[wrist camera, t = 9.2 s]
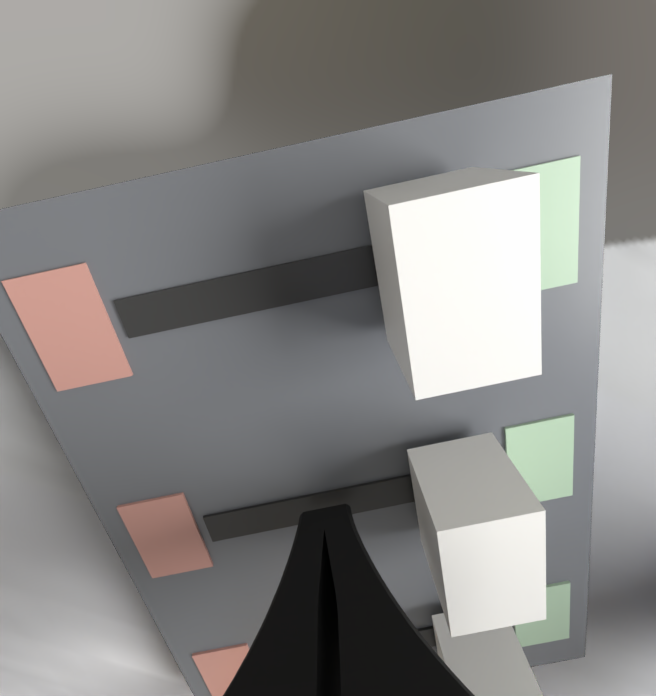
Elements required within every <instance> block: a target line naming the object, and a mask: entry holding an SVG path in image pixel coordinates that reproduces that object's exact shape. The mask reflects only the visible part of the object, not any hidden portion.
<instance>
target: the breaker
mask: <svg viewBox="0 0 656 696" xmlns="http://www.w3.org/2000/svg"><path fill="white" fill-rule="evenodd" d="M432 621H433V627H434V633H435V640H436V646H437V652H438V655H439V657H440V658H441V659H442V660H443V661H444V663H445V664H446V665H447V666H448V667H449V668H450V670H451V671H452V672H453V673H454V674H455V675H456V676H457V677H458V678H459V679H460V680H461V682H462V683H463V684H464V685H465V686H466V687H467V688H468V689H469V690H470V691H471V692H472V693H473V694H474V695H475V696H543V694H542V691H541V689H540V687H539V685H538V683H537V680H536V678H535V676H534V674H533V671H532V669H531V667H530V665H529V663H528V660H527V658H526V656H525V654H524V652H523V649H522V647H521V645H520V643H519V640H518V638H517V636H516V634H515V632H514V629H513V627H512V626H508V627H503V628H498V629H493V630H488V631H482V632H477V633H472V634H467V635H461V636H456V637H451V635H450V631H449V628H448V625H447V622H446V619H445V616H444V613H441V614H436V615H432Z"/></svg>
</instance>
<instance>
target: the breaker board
mask: <svg viewBox="0 0 656 696" xmlns="http://www.w3.org/2000/svg"><path fill="white" fill-rule="evenodd" d="M611 87H612V74H610V75H606V76H601V77H596V78H592V79H587V80H583V81H579V82H574V83H569V84H565V85H560V86H556V87H551V88H547V89H542V90H538V91H533V92H529V93H524V94H519V95H515V96H510V97H506V98H502V99H497V100H492V101H488V102H483V103H479V104H475V105H470V106H465V107H461V108H456V109H452V110H447V111H443V112H438V113H434V114H429V115H425V116H420V117H416V118H411V119H406V120H402V121H398V122H393V123H388V124H384V125H380V126H375V127H371V128H366V129H361V130H356V131H353V132H347V133H343V134H338V135H334V136H329V137H325V138H320V139H316V140H311V141H307V142H302V143H298V144H293V145H289V146H284V147H280V148H275V149H270V150H266V151H262V152H257V153H252V154H248V155H243V156H239V157H235V158H230V159H225V160H221V161H216V162H212V163H207V164H203V165H198V166H194V167H189V168H185V169H180V170H175V171H171V172H166V173H162V174H157V175H153V176H148V177H144V178H139V179H135V180H130V181H126V182H121V183H117V184H112V185H108V186H103V187H99V188H94V189H89V190H85V191H80V192H76V193H71V194H67V195H62V196H58V197H53V198H49V199H44V200H40V201H35V202H31V203H26V204H22V205H17V206H13V207H8V208H3V209H0V334H1V336H2V337H3V339H4V341H5V343H6V345H7V347H8V349H9V350H10V352H11V354H12V356H13V358H14V360H15V362H16V364H17V365H18V367H19V369H20V371H21V373H22V375H23V377H24V379H25V380H26V382H27V384H28V386H29V388H30V390H31V392H32V393H33V395H34V397H35V399H36V401H37V403H38V405H39V407H40V408H41V410H42V412H43V414H44V416H45V418H46V420H47V422H48V423H49V425H50V427H51V429H52V431H53V433H54V435H55V436H56V438H57V440H58V442H59V444H60V446H61V448H62V450H63V451H64V453H65V455H66V457H67V459H68V461H69V463H70V465H71V466H72V468H73V470H74V472H75V474H76V476H77V478H78V479H79V481H80V483H81V485H82V487H83V489H84V491H85V493H86V494H87V496H88V498H89V500H90V502H91V504H92V506H93V508H94V509H95V511H96V513H97V515H98V517H99V519H100V521H101V522H102V524H103V526H104V528H105V530H106V532H107V534H108V536H109V537H110V539H111V541H112V543H113V545H114V547H115V549H116V550H117V552H118V554H119V556H120V558H121V560H122V562H123V564H124V565H125V567H126V569H127V571H128V573H129V575H130V577H131V579H132V580H133V582H134V584H135V586H136V588H137V590H138V592H139V593H140V595H141V597H142V599H143V601H144V603H145V605H146V607H147V608H148V610H149V612H150V614H151V616H152V618H153V620H154V622H155V623H156V625H157V627H158V629H159V631H160V633H161V635H162V636H163V638H164V640H165V642H166V644H167V646H168V648H169V650H170V651H171V653H172V655H173V657H174V659H175V661H176V663H177V665H178V666H179V668H180V670H181V672H182V674H183V676H184V678H185V679H186V681H187V683H188V685H189V687H190V689H191V691H192V693H193V694H194V696H223V695H224V693H225V691H226V690H227V688H228V686H229V685H230V683H231V681H232V680H233V678H234V676H235V675H236V673H237V671H238V669H239V667H240V666H241V664H242V662H243V660H244V658H245V657H246V655H247V653H248V651H249V649H250V647H251V645H252V643H253V641H254V639H255V637H256V635H257V634H258V631H259V629H260V627H261V625H262V623H263V621H264V619H265V617H266V614H267V612H268V610H269V607H270V605H271V603H272V600H273V598H274V595H275V593H276V591H277V588H278V586H279V583H280V581H281V578H282V575H283V572H284V569H285V566H286V564H287V561H288V558H289V555H290V552H291V548H292V545H293V542H294V538H295V535H296V531H297V527H298V522H299V517H300V515H301V514H302V513H303V512H306V511H311V510H316V509H321V508H326V507H331V506H336V505H341V504H347V505H349V506H350V507H351V511H352V516H353V520H354V523H355V526H356V528H357V531H358V533H359V535H360V538H361V540H362V542H363V544H364V546H365V548H366V550H367V552H368V554H369V556H370V558H371V560H372V561H373V563H374V565H375V567H376V569H377V570H378V572H379V574H380V576H381V577H382V579H383V580H384V582H385V584H386V585H387V587H388V588H389V590H390V592H391V593H392V595H393V596H394V598H395V599H396V601H397V602H398V604H399V605H400V607H401V608H402V609H403V611H404V612H405V614H406V615H407V616H408V618H409V619H410V621H411V622H412V623H413V624H414V626H415V627H416V628H417V630H418V631H419V632H420V634H421V635H422V636H423V638H424V639H425V640H426V641H427V642H428V644H429V645H430V646H431V647H432V648H433V650H434V651H435V652H436V653H437V654H438V652H437V646H436V640H435V633H434V627H433V621H432V615H436V614H441V613H444V612H443V609H442V606H441V603H440V600H439V597H438V593H437V590H436V587H435V584H434V581H433V577H432V574H431V571H430V568H429V565H428V562H427V558H426V555H425V552H424V549H423V546H422V542H421V536H420V530H419V523H418V517H417V511H416V504H415V498H414V492H413V485H412V479H411V473H410V467H409V460H408V454H407V449H412V448H417V447H422V446H426V445H431V444H436V443H441V442H446V441H451V440H456V439H461V438H466V437H471V436H476V435H481V434H486V433H491V432H492V433H493V435H494V436H495V438H496V439H497V441H498V442H499V444H500V445H501V447H502V448H503V449H504V451H505V452H506V454H507V455H508V457H509V458H510V460H511V461H512V463H513V464H514V465H515V467H516V468H517V470H518V471H519V473H520V474H521V476H522V477H523V478H524V480H525V481H526V483H527V484H528V486H529V487H530V489H531V490H532V492H533V493H534V494H535V496H536V497H537V499H538V500H539V502H540V503H541V505H542V506H543V508H544V509H545V510H546V619H545V620H540V621H535V622H529V623H524V624H519V625H514V626H512V627H513V629H514V632H515V634H516V636H517V638H518V640H519V643H520V645H521V647H522V649H523V652H524V654H525V656H526V658H527V660H528V663H529V665H530V667H534V666H539V665H544V664H550V663H555V662H560V661H565V660H571V659H576V658H581V657H585V647H586V626H587V604H588V583H589V561H590V540H591V518H592V496H593V475H594V453H595V432H596V410H597V389H598V367H599V346H600V324H601V303H602V281H603V260H604V238H605V237H604V236H605V217H606V194H607V173H608V152H609V130H610V108H611ZM470 167H478V168H490V169H501V170H512V171H524V172H535V173H540V255H541V350H542V375H537V376H532V377H527V378H522V379H517V380H513V381H508V382H503V383H498V384H493V385H488V386H483V387H478V388H474V389H469V390H464V391H459V392H454V393H449V394H444V395H439V396H435V397H430V398H425V399H420V400H415V398H414V396H413V393H412V391H411V389H410V387H409V385H408V383H407V381H406V379H405V376H404V374H403V372H402V370H401V368H400V366H399V364H398V362H397V359H396V357H395V355H394V353H393V351H392V349H391V347H390V345H389V343H388V340H387V335H386V329H385V323H384V316H383V310H382V304H381V298H380V291H379V285H378V279H377V273H376V267H375V260H374V254H373V248H372V242H371V236H370V229H369V223H368V217H367V211H366V204H365V198H364V192H363V191H364V190H369V189H373V188H378V187H382V186H387V185H392V184H396V183H401V182H405V181H410V180H415V179H419V178H424V177H428V176H433V175H438V174H442V173H447V172H451V171H456V170H461V169H465V168H470Z"/></svg>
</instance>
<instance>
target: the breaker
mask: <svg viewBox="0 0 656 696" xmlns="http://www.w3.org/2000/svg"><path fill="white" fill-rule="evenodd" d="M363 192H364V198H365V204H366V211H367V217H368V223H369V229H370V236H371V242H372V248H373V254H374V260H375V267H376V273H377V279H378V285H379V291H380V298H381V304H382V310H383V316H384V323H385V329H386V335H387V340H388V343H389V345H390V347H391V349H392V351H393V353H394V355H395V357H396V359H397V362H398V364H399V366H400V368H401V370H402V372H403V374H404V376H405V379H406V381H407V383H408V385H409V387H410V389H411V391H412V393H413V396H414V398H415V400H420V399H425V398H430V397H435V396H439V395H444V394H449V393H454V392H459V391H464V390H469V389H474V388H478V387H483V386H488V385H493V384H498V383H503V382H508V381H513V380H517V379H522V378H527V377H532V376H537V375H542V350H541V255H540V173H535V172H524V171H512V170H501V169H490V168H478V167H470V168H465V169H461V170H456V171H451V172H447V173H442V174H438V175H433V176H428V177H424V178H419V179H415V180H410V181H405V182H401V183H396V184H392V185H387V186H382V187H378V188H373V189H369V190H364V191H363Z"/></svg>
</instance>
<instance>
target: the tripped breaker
mask: <svg viewBox="0 0 656 696" xmlns="http://www.w3.org/2000/svg"><path fill="white" fill-rule="evenodd" d="M407 454H408V460H409V467H410V473H411V479H412V485H413V492H414V498H415V504H416V511H417V517H418V523H419V530H420V536H421V542H422V546H423V549H424V552H425V555H426V558H427V562H428V565H429V568H430V571H431V574H432V577H433V581H434V584H435V587H436V590H437V593H438V597H439V600H440V603H441V606H442V609H443V612H444V616H445V619H446V622H447V625H448V628H449V631H450V635H451V637H456V636H461V635H467V634H472V633H477V632H482V631H488V630H493V629H498V628H503V627H508V626H514V625H519V624H524V623H529V622H535V621H540V620H545V619H546V510H545V509H544V508H543V506H542V505H541V503H540V502H539V500H538V499H537V497H536V496H535V494H534V493H533V492H532V490H531V489H530V487H529V486H528V484H527V483H526V481H525V480H524V478H523V477H522V476H521V474H520V473H519V471H518V470H517V468H516V467H515V465H514V464H513V463H512V461H511V460H510V458H509V457H508V455H507V454H506V452H505V451H504V449H503V448H502V447H501V445H500V444H499V442H498V441H497V439H496V438H495V436H494V435H493V433H492V432H491V433H486V434H481V435H476V436H471V437H466V438H461V439H456V440H451V441H446V442H441V443H436V444H431V445H426V446H422V447H417V448H412V449H407Z"/></svg>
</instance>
